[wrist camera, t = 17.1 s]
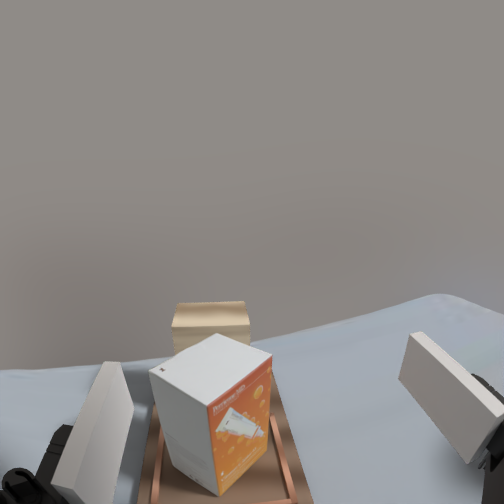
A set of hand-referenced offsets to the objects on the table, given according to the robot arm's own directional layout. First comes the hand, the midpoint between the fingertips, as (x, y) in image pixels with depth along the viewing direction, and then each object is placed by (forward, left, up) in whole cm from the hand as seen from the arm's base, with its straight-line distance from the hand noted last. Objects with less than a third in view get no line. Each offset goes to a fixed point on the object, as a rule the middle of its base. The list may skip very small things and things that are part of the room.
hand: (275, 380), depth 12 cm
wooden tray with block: (+13, +3, -19) cm, 24 cm away
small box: (+9, +3, -19) cm, 21 cm away
